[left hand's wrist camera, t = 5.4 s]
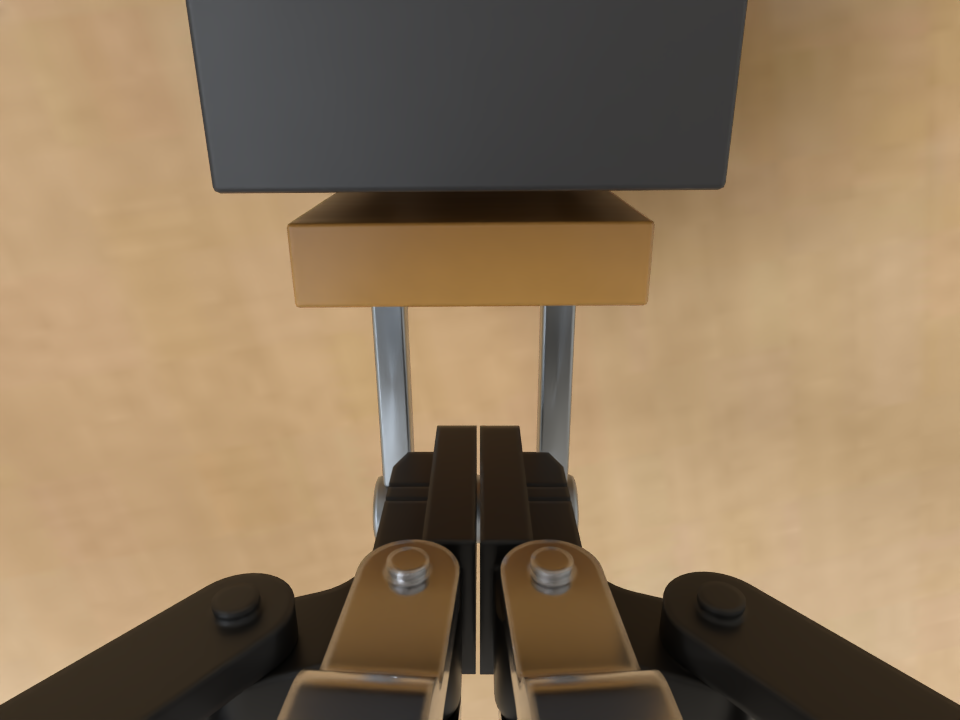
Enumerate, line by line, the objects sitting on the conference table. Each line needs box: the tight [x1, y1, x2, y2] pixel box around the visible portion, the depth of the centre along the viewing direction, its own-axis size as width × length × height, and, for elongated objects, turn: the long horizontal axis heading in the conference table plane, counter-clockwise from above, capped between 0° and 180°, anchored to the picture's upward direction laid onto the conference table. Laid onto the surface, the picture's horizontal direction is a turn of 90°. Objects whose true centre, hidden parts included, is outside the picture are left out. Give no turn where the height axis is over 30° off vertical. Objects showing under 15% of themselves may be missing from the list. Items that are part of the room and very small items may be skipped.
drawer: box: [287, 190, 654, 543], centre depth 12 cm, size 20×5×9 cm, turn 0°
